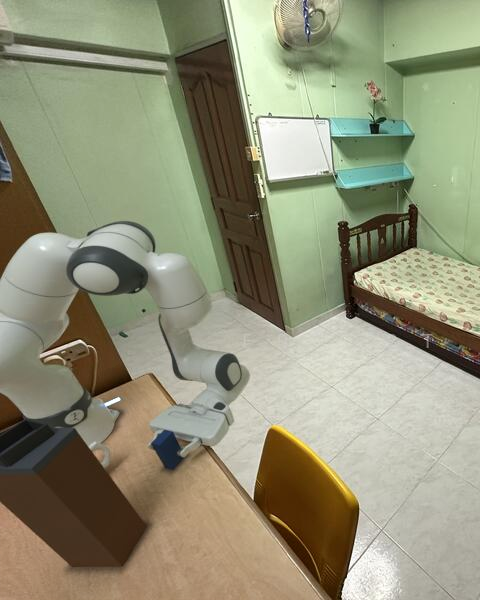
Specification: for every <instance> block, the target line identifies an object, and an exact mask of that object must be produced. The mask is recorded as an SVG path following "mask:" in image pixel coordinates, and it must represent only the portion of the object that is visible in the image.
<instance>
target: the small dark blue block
mask: <svg viewBox="0 0 480 600" xmlns="http://www.w3.org/2000/svg"><path fill="white" fill-rule="evenodd" d="M150 442H151V441H150ZM151 445H152V446H153V448H154V450H153V451H154V452H155V453H156V455H157V457H158V459H159V460H160V462H161V464H162V466H163V467H164V469H166V470H170V471H174V470H175V469H176V468H177V467H178V465H179V464H180V463H181V462H182V461H183V460H184V459H185V457H180V456H178V454H177V452H178V450H180V448H181V447H182V446H181V445H180V443H179V441H178V439H177V438H176V437H175V435H174V433H173V431H168V430H164V431H163V432H162V433H161V434H160V435H159V436H158V437H157V438H156V439H155V440H154V441H153V442H151Z"/></svg>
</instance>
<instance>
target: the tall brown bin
mask: <svg viewBox="0 0 480 600" xmlns="http://www.w3.org/2000/svg"><path fill="white" fill-rule="evenodd" d="M0 503H1V504H2V505H3V506H4V507H5V508H6V509H7V510H9V512H11V513H12V514H13V516H15V517H16V518H17V519H18V520H19V521H21V523H23V524H24V525H25V526H26V527H27V528H28V529H29V530H30V531H31V532H32V533H34V534H35V535H36V536H37V537H38V538H39V539H41V540H42V541H43V542H44V543H45V544H46V545H47V546H48V547H49V548H50V549H52V550H53V552H54V553H55V554H57V555H58V556H59V557H60V558H61V559H62V560H63V561H64V562H66V564H68V565H69V566H70V567H72V568H86V567H87V568H90V567H91V568H94V567H95V568H96V567H98V568H99V567H101V568H105V567H107V568H108V567H123V566H124V565H125V563H126V562H127V560H128V558H129V557H130V556H131V553H132V552H133V550H134V548H135V547H136V545H137V543H138V542H139V540H140V539H141V537H142V536H143V534H144V532H145V530H146V529H147V527H148V525H147V524H146V523H145V521H144V520H143V519H142V517H141V516H140V515H139V513H138V512H137V511H136V509H135V508H134V507H133V505H132V503H131V502H130V501H129V500H128V498H127V497H126V496H125V494H124V493H123V492H122V490H121V489H120V487H119V486H118V485H117V483H116V482H115V481H114V479H113V478H112V477H111V476H110V473H108V471H107V469H105V468H104V467H103V466H102V465H101V462H100V461H99V459H98V458H97V456H96V455H95V454H94V452H93V451H91V450H90V448H89V447H88V445H87V444H86V443H85V441H84V440H83V439H82V437H81V436H80V435H79V433H78V432H77V430H76V429H75V428H50V427H49V426H48V424H47V423H44V422H40V421H36V420H32V419H24V418H23V420H21V421H20V422H18V423H16V424H15V425H14V426H12V427H10V428H9V429H7V430H5V431H4V432H2V433H1V434H0Z"/></svg>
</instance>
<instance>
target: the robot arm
mask: <svg viewBox="0 0 480 600" xmlns="http://www.w3.org/2000/svg"><path fill="white" fill-rule="evenodd" d="M156 245H157V244H156V240H155V237H154V235H153V234H152V232H151V231H150V230H149V229H148V228H147V227H145V226H143V225H142V224H140V223H137V222H134V221H129V220H120V221H114V222H109V223H107V224H105V225H102V226H100V227H98V228H95V229H92V230H90V231H88V232H87V234H86V237H83V238H75V237H72V236H70V235H66V234H63V233H59V232H40V233H37V234H34V235H32V236H30V237H29V238H27V240H25V241H24V243H22V245H21V246H20V247H18V249H17V250H16V252H15V253H14V254H13V256H12V257H11V258H10V260H9V262H8V263H7V265H6V267H5V269H4V271H3V273H2V275H1V277H0V394H1V395H4V396H5V397H7V398H8V399H9V400H10V401H11V402H12V403H13V404H14V406H16V408H18V410H19V411H20V412H21V413H22V418H23V420H24V419H32V420H36V421H40V422H44V423H47V424H48V426H49V427H50V428H75V429H76V430H77V432H78V433H79V435H80V436H81V437H82V439H83V440H84V441H85V443H86V444H87V445H88V447H89V446H90V444H92V443H93V442H95V441H96V442H97V443H100V444H102V443H103V442H104V441H105V440H106V439H107V438H108V437H109V436H110V435H111V433H112V432H113V430H114V428H115V425H116V420H117V419H118V418H119V416H120V414H121V412H120V411H118V410H117V409H113V408H112V409H111V408H108V407H107V406H110V405H112V404H115V403H117V402H119V401H121V398H120V397H117V398H114V399H112V400H110V401H108V402H104V401H103V400H102V399H101V398H97V397H92V396H91V393H90V392H89V390H87V389H86V388H85V387H84V386H82V385H81V383H80V382H79V380H78V379H77V377H76V376H75V374H74V373H73V371H72V369H70V368H69V367H68V366H65V365H62V364H44V363H43V362H42V361H41V354H43V353H44V352H45V351H47V349H48V348H50V347H51V346H52V345H53V344H54V343H56V342H57V341H58V340H59V339H60V337H61V336H62V335H63V333H64V332H65V331H66V329H67V328H68V326H69V325H70V318H69V315H68V313H67V311H68V309H69V307H70V306H71V305H72V302H73V301H74V299H75V297H76V296H77V293H78V291H79V290H80V291H82V292H84V293H88V294H90V295H95V296H101V297H103V296H104V297H110V296H111V297H112V296H119V295H123V294H126V295H127V294H128V295H135V294H138V293H140V292H142V291H143V290H144V289H145V290H146V291H147V292H148V293H149V295H150V296H151V298H152V300H153V301H154V303H155V305H156V306H157V307H156V308H157V309H158V311H159V314H158V320H157V321H158V325H159V329H160V332H161V335H162V337H163V340H164V342H165V345H166V347H167V349H168V353H169V354H170V358H171V367H172V372H173V374H174V376H175V378H177V379H178V380H181V381H188V382H198V383H203V384H205V386H206V388H205V389H204V390H202V391H201V392H200V393H199V394H198V395H197V396H196V397H194V399H193V400H192V401H190V403H188V404H184V403H178V404H173V405H171V406H169V407H167V408H166V409H164V410H163V411H161V412H160V413H159V414H157V415H156V416H155V417H154V418H153V419H151V421H149V428H150V430H151V432H152V433H153V434H154V436H153V438H152V440H151V441H150V442H149V443H148V444H147V449H149V450H152V451H155V450H154V448H153V446H152V445H151V442H153V441H154V440H155V439H156V438H157V437H158V436H159V435H160V434H161V433H162V432H163V431H164V430H168V431H173V433H174V435H175V437H176V439H177V440H182V441H185V442H190V443H188V444H187V445H185V446H181V448H180V450H178V452H177V454H178V456H180V457H184V458H186V456H187V455H188V454H190V452H193V451H195V450H196V449H198V448H199V447H200V446H201V445H203V446H207V447H216V446H217V445H218V444H220V443H221V441H222V440H223V439H224V438H225V436H226V435H227V433H228V432H229V430H230V427H231V426H232V425H234V423H235V418H234V415H233V412H232V410H231V408H230V404H231V403H233V402H235V401H236V400H237V399H238V398H239V396H240V395H241V394H242V393H243V391H244V390H245V388H246V387H247V386H248V384H249V382H250V379H251V373H250V372H249V369H248V368H247V367H246V366H245V365H243V364H240V361H239V359H238V357H237V356H236V355H235V354H233V353H231V352H226V351H221V350H212V349H207V348H203V347H200V346H198V345H196V344H195V343H194V342H193V341H194V340H193V338H192V336H191V332H190V329H192V328H195V327H196V326H198V325H200V324H201V323H202V322H204V321H205V320H206V319H207V318H208V317H209V315H210V314H211V311H212V305H213V304H212V300H211V296H210V294H209V292H208V290H207V288H206V285H205V284H204V283H205V282H204V281H203V280H202V277H201V276H200V274H199V272H198V271H197V269H196V268H195V266H194V265H193V264H192V262H191V261H190V260H189V259H188V257H186V256H185V255H183V254H180V253H176V252H164V253H156Z"/></svg>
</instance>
